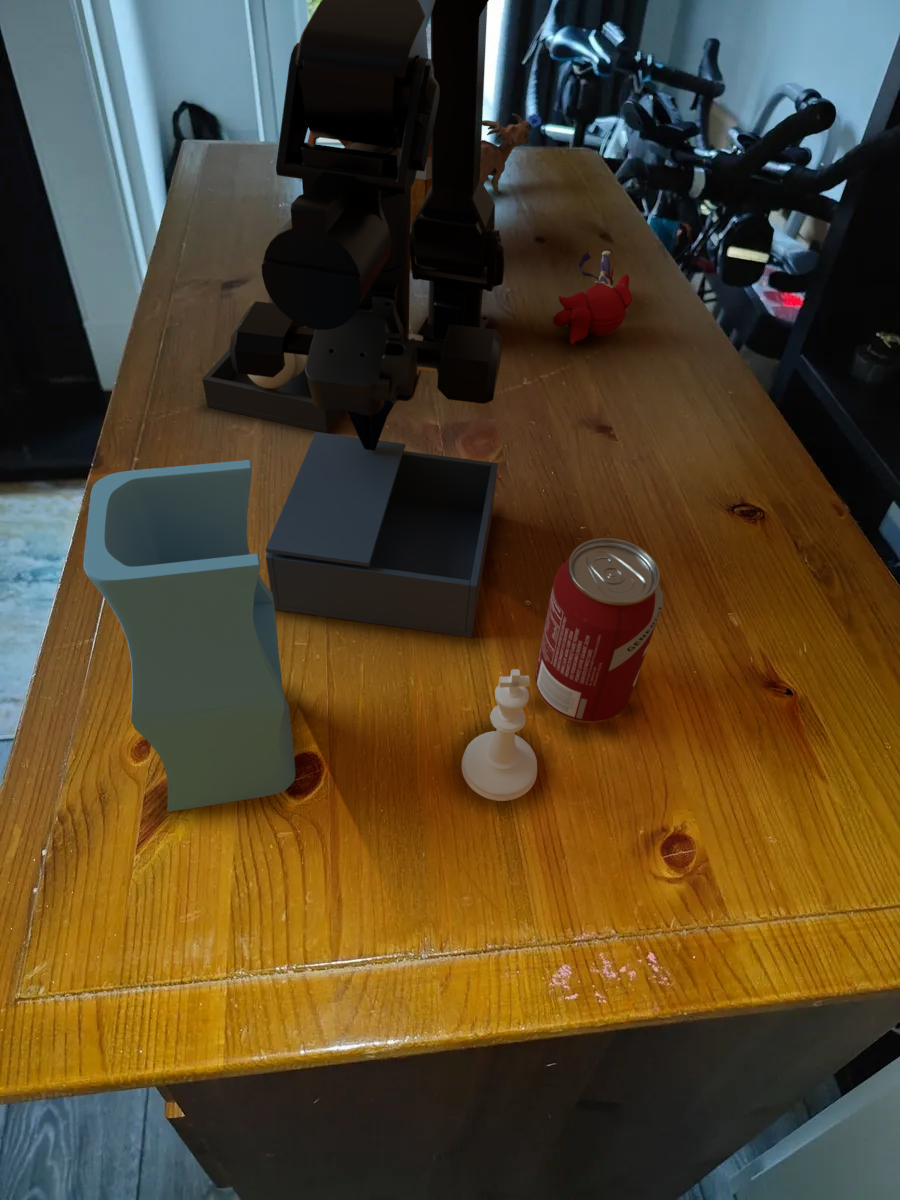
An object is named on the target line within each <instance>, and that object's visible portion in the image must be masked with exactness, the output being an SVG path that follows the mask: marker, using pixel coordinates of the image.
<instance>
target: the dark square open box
mask: <svg viewBox="0 0 900 1200" xmlns="http://www.w3.org/2000/svg"><path fill="white" fill-rule="evenodd" d="M498 465H499V462H492V461H485V460H478V459H469V458H462V457H461V458H460V457H453V456H445V455H440V454H439V455H438V454H431V453H423V452H415V451H408V450H404V453H403V456H402V459H401V463H400V466H399V469H398V473H397V476H396V479H395V483H394V486H393V489H392V493H391V496H390V499H389V503H388V506H387V509H386V513H385V516H384V520H383V523H382V526H381V530H380V533H379V536H378V540H377V543H376V546H375V550H374V553H373V556H372V560H371V563H370V566H369V567H366V566H359V565H352V564H345V563H338V562H331V561H324V560H317V559H310V558H303V557H296V556H289V555H282V554H275V553H268V552H266V555H265V561H266V568H267V574H268V575H267V576H268V581H269V587H270V588H269V589H270V591H271V592H272V593H273V600H274V607H275V611H282V612H290V613H296V614H303V615H311V616H316V617H324V618H333V619H338V620H339V619H340V620H345V621H351V622H353V621H354V622H360V623H368V624H374V625H381V626H387V627H388V626H389V627H395V628H403V629H409V630H414V631H415V630H416V631H424V632H430V633H438V634H445V635H452V636H459V637H466V638H472V637H473V632H474V626H475V621H476V614H477V608H478V602H479V597H480V596H479V595H480V592H481V591H480V590H481V584H482V577H483V571H484V567H485V562H486V561H485V560H486V555H487V547H488V542H489V535H490V531H491V523H492V517H493V511H494V502H495V493H496V483H497V477H498V476H497V475H498V467H499V466H498Z"/></svg>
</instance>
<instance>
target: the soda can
mask: <svg viewBox="0 0 900 1200" xmlns="http://www.w3.org/2000/svg"><path fill="white" fill-rule="evenodd" d="M660 575H661V573H660V569H659V566H658V564H657V562H656V561H655V559H654V558H653V557H652V556H651V555H650V553H649V552H647V551H646V550H645V549H643V548H641V547H640V546H638V545H636V544H635V543H632V542H630V541H627V540H623V539H620V538H615V537H614V538H613V537H598V538H593V539H588V540H586V541H585V542H582V543H581V544H579V545H577V547H575V548H574V549H573V550H572V552H571V554H570V556H569V558H568V559H567V560H565V561H564V562H563V563H562V564H561V566H560V567H559V568H558V570H557V571H556V574H555V576H554V579H553V584H552V589H551V594H550V597H549V598H550V599H549V603H548V609H547V614H546V619H545V624H544V628H543V634H542V638H541V644H540V648H539V653H538V658H537V663H536V668H535V672H534V673H535V674H534V683H535V687H536V691H537V694H538V695H539V697H540V698H541V700H542V702H543V703H544V704H545V705H546V706H547V707H548V708H549V709H550V710H551V711H553V712H554V713H555V714H557V715H559V716H561V717H563V718H565V719H566V720H567V719H568V720H571V721H574V722H576V723H577V722H578V723H584V724H596V723H602V722H606V721H609V720H612V719H614V718H616V717H617V716H619V715H620V714H621V713H622V712H623V711H624V710H625V709H626V707H627V706H628V704H629V703H630V700H631V698H632V694H633V692H634V688H635V685H636V683H637V680H638V677H639V674H640V671H641V669H642V666H643V662H644V660H645V657H646V654H647V652H648V650H649V649H648V648H649V646H650V643H651V640H652V637H653V634H654V632H655V629H656V625H657V623H658V621H659V620H658V619H659V617H660V614H661V611H662V608H663V604H664V593H663V588H662V585H661V582H660V579H661V576H660Z"/></svg>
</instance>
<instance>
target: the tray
mask: <svg viewBox="0 0 900 1200" xmlns="http://www.w3.org/2000/svg"><path fill="white" fill-rule="evenodd" d="M271 303H274V302H273V301H272V302H271ZM274 304H275V303H274ZM202 385H203V390H204V395H205V401H206V407H207V408H211V409H216V410H221V411H224V412H229V413H233V414H239V415H244V416H247V417H252V418H257V419H262V420H266V421H269V422H275V423H280V424H284V425H289V426H294V427H297V428H302V429H307V430H312V431H315V432H320V433H328V434H329V431H330V430H331V429H332V427H333V425H334V424H335V422H336V421H337V419H338V418H339V416H340V414H341V413H342V412H343V411H341V410H331V411H327V410H322V409H319V408H317V407H316V406H315V405H314V403H313V400H312V396H311V392H310V388H309V384H308V380H307V376H306V372H305V370H304V371H302V372H301V373H300V374H299V375H297V376H296V377H294V378H291V379H290V380H289V381H288V382H287V383H286V384H285V385H283V386H281V387H279V391H275V390H270V389H266V388H263V387H261V386H259V385H257V384H255V383H254V382H253V381H252V380H251V379H250V378H249V376H248V374H240V373H237V372H236V371H235V370H234V369H233V366H232V360H231V353H230V348H228V349H227V351H226V352H224V354H223V355H222V356H221V358H219V360H218V361H217V362H216V363H215V364H214V365H213V366H212V367H211V368H210V370H208V372H207V373H206V374H205V375H204V376H203V377H202Z"/></svg>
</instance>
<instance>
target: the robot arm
mask: <svg viewBox="0 0 900 1200" xmlns="http://www.w3.org/2000/svg"><path fill="white" fill-rule="evenodd" d="M489 1H490V0H321V1H320V2H319V3H318V5H317V7H316V8H315V10H314V12H313V14H312V15H311V17H310V19H309V20H308V22H307V24H306V25H305V27H304V29H303V31H302V33H301V34H300V38H299V42H297V43H296V44H295V45H294V46H293V48H292V51H291V54H290V57H289V63H288V71H287V79H286V85H285V93H284V102H283V107H282V108H283V110H282V115H281V116H282V117H281V124H280V132H279V133H280V134H279V140H278V148H277V155H276V164H275V172H276V175H277V176H278V177H285V178H291V179H297V180H301V185H302V186H301V187H302V194H300V195H298V196H297V197H296V198H295V199H294V200H293V201H292V202H291V204H290V219H289V220H288V221H287V222H286V223H285V224H284V226H283V227H282V228H280V230H279V232H278V233H277V234H276V235H275V236H274V237H273V238H272V240H270V242H269V244H268V245H267V247H266V249H265V250H264V251H265V252H264V256H263V261H262V263H261V276H262V280H263V283H264V287H265V289H266V292H267V294H268V295H269V298H270V300H271V301H272V302H274V303H275V304H274V303H272V302H265V301H254V302H253V303H252V304H251V305H250V306H249V308H247V310H246V312H245V313H244V315H243V316H242V318H241V319H240V321H239V323H238V324H237V326H236V328H235V330H233V332H232V334H231V335H230V342H229V349H230V353H231V360H232V366H233V369H234V370H235V371H236V372H237V373H240V374H248V375H256V376H264V377H272V378H273V377H275V376H276V375H277V374H278V373H279V372H280V371H282V370H283V368H284V366H285V358H284V353H291V354H300V355H308V359H307V362H306V366H305V372H306V376H307V380H308V384H309V388H310V392H311V396H312V400H313V403H314V405H315V406H316V407H317V408H319V409H322V410H327V411H331V410H341V411H342V412H345V413H346V414H347V416H348V418H349V420H350V422H351V425H352V426H353V429H354V430H355V432H356V435H357V436H358V438H359V439H360V441H361V443H362V445H363V447H364V449H365V450H372V451H375V449H376V446H377V443H378V441H379V440H380V438H381V435H382V433H383V430H384V427H385V424H386V421H387V419H388V417H389V415H390V413H391V411H392V410H393V407H394V406H395V404H396V403H397V402H409V401H411V400H412V399H413V398H415V397H414V396H415V394H416V391H417V387H418V383H419V380H420V377H421V374H422V372H426V373H427V372H429V373H436V374H437V386H436V387H437V390H438V391H439V392H440V393H441V394H442V395H443V396H444V397H445V398H446V399H447V400H451V401H459V402H466V403H467V402H468V403H474V404H482V405H484V404H485V405H486V404H487V403H490V402H492V401H494V398H495V392H496V388H497V382H498V377H499V371H500V366H501V361H502V350H503V338H502V337H501V335H500V334H499V333H498V331H497V329H493V328H487V327H488V325H489V324H490V317H488V316H487V315H482V309H483V299H484V298H483V296H484V295H483V294H484V290H485V291H487V292H490V293H491V292H493V290H494V287H498V286H501V285H503V282H504V275H505V252H504V251H505V248H504V245H503V244H502V238H501V232H500V229H496V228H495V223H496V203H495V202H494V200H493V198H492V196H491V195H490V193H489V191H488V190H487V187H486V186H485V183H484V184H483V183H482V181H481V179H480V163H481V141H482V140H483V138H482V137H483V125H482V121H483V118H484V117H483V114H484V93H485V70H486V69H485V68H486V46H487V45H486V43H487V22H488V3H489ZM429 21H430V58H429V49H428V35H427V27H428V25H429ZM308 130H309V132H310V131H311V133H312V134H313V135H314V136H315V137H320V138H322V139H327V140H328V139H330V140H335V141H339V140H342V141H349V142H350V143H349V144H348V145H347V146H346V147H344V146H343V147H339V146H338V147H337V146H332V145H324V144H317V143H316V144H311V143H307V142H305V141H306V138H307V133H308ZM320 138H319V139H320ZM430 142H431V160H432V186H431V187H430V189H429V190H428V192H427V194H426V196H425V198H424V200H423V203H422V205H421V207H420V209H419V211H418V214H417V216H416V218H415V219H414V221H413V224H412V228H411V234H410V223H411V186H412V185H413V183H414V181H415V177H416V173H417V171H425V167H426V162H427V157H428V152H429V147H430ZM410 257H411V267H412V268H410ZM411 276H412V280H416V281H418V280H422V281H427V282H428V302H427V303H428V308H427V316H426V318H425V320H424V322H423V323H422V325H421V326H420V327H419V330H418V331H417V334H416V333H415V334H414V333H413V334H412V333H410V295H411V293H410V290H411V289H410V287H411V283H410V282H411V281H410V280H411Z"/></svg>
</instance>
